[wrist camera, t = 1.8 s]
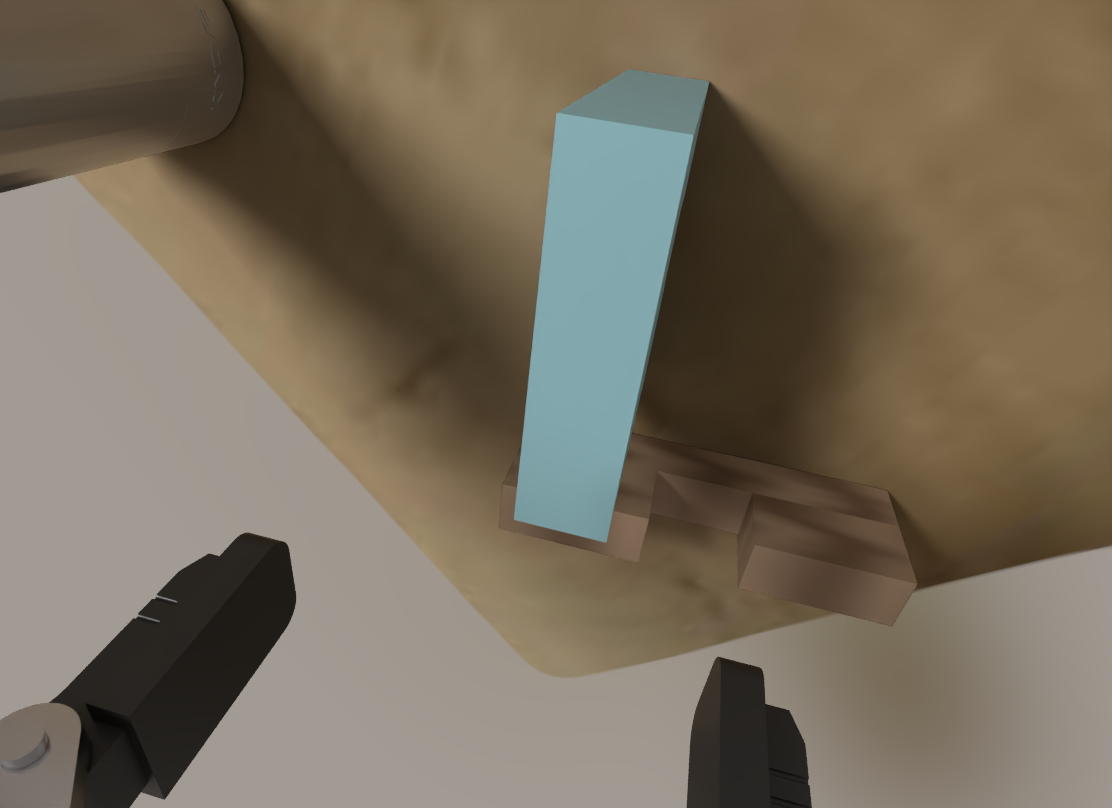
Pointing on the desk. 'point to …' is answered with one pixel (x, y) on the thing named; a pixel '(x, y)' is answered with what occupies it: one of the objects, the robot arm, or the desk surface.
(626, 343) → the teal notched plate
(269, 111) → the desk surface
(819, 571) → the walnut slotted board
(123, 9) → the robot arm
